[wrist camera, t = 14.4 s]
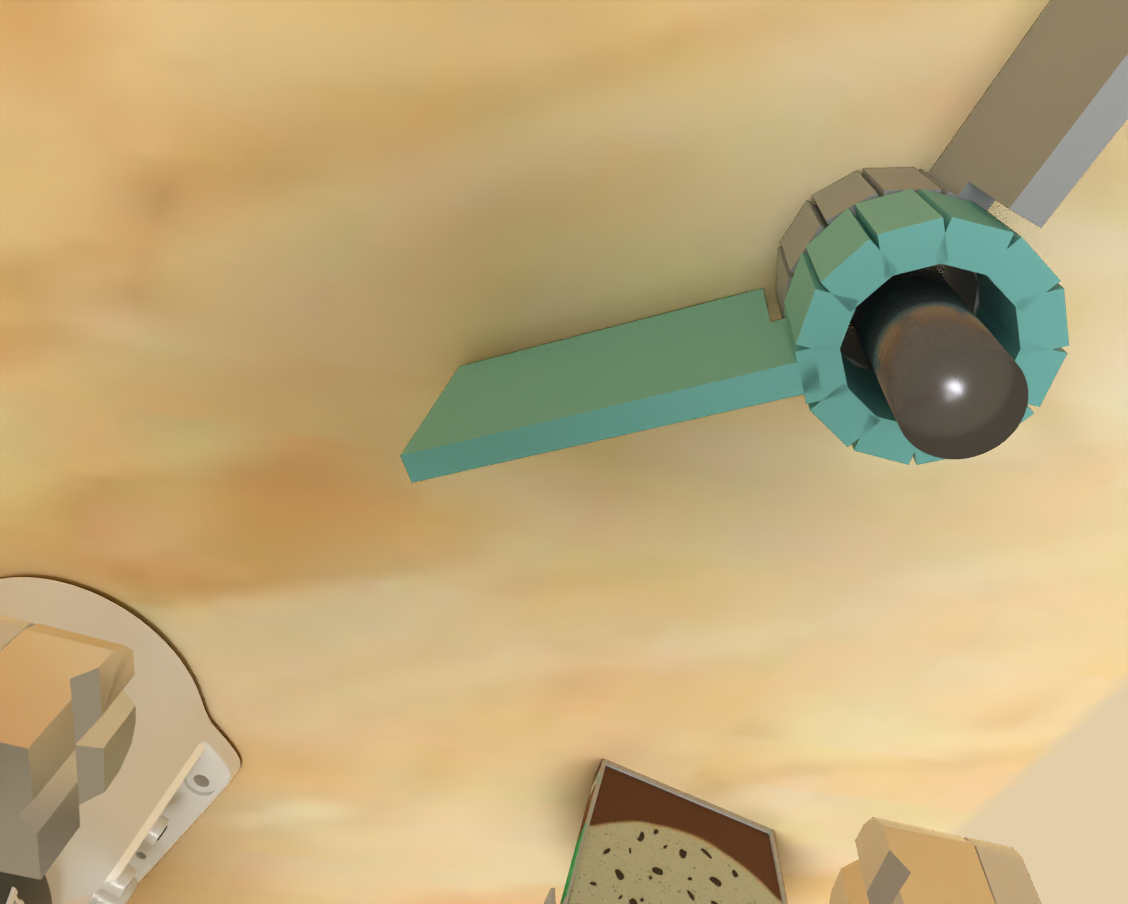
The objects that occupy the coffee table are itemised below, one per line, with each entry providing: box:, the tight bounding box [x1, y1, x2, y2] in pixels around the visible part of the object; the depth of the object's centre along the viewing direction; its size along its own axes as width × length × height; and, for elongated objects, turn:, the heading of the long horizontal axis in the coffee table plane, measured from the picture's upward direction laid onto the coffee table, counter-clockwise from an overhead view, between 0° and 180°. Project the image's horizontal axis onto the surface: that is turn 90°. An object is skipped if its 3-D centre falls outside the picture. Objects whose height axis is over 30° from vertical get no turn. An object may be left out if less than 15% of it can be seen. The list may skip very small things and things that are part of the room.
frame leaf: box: [776, 0, 1128, 371], centre depth 26 cm, size 20×7×8 cm, turn 153°
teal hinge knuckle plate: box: [401, 188, 1069, 483], centre depth 30 cm, size 20×7×8 cm, turn 108°
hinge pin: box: [851, 266, 1028, 459], centre depth 27 cm, size 3×3×12 cm
